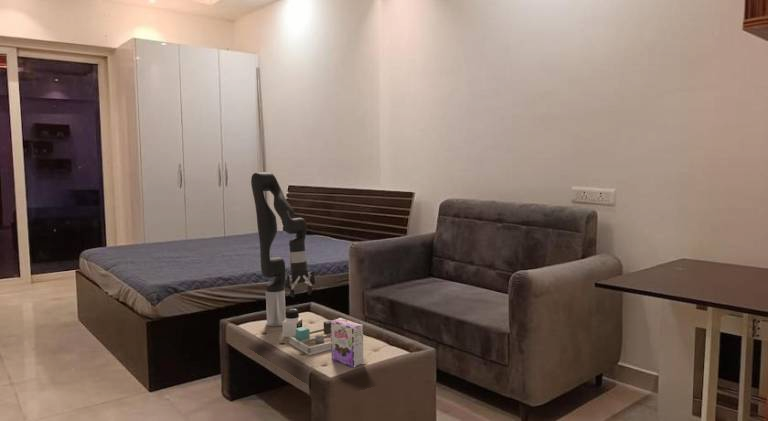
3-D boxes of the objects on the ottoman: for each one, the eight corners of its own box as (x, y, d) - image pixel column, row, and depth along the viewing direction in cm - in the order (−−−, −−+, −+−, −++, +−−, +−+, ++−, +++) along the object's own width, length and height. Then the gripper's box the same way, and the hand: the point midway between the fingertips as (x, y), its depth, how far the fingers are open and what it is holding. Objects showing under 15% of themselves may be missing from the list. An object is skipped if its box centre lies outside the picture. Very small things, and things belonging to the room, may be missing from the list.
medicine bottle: (297, 338, 252) (296, 312, 251) (282, 337, 253) (281, 311, 252) (302, 332, 259) (301, 308, 258) (288, 332, 260) (287, 307, 259)
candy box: (330, 359, 226) (329, 320, 224) (341, 355, 230) (340, 317, 228) (353, 368, 216) (352, 327, 214) (364, 364, 220) (363, 324, 218)
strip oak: (293, 340, 246) (293, 327, 245) (328, 332, 256) (328, 319, 255) (300, 344, 240) (299, 331, 240) (335, 336, 251) (335, 322, 250)
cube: (295, 338, 245) (295, 328, 245) (304, 336, 248) (304, 326, 247) (300, 341, 241) (300, 331, 241) (309, 338, 244) (309, 329, 244)
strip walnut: (302, 346, 238) (302, 332, 238) (338, 337, 249) (338, 324, 248) (309, 350, 233) (309, 336, 232) (346, 341, 244) (345, 327, 243)
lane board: (288, 342, 246) (288, 336, 246) (327, 333, 258) (327, 327, 257) (308, 355, 231) (308, 348, 231) (349, 344, 242) (349, 337, 242)
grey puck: (314, 342, 240) (313, 335, 239) (321, 340, 242) (321, 333, 241) (318, 344, 237) (317, 337, 236) (325, 342, 239) (325, 336, 239)
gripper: (308, 258, 263) (311, 292, 263) (280, 262, 255) (283, 297, 255) (315, 259, 257) (318, 293, 257) (287, 263, 249) (290, 299, 249)
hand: (301, 295), depth 256 cm, fingers open, 8 cm apart
